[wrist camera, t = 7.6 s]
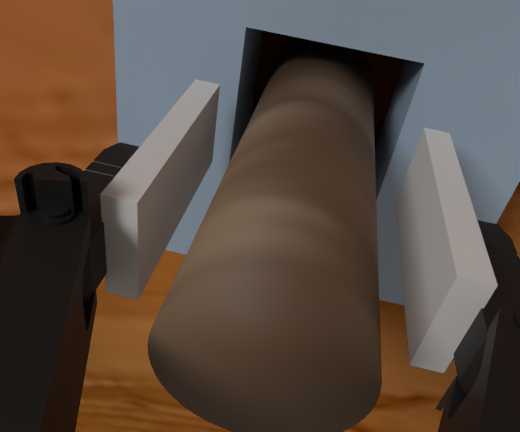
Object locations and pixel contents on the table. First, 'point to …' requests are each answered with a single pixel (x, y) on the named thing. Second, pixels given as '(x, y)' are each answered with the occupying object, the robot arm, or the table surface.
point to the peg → (285, 262)
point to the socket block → (350, 36)
